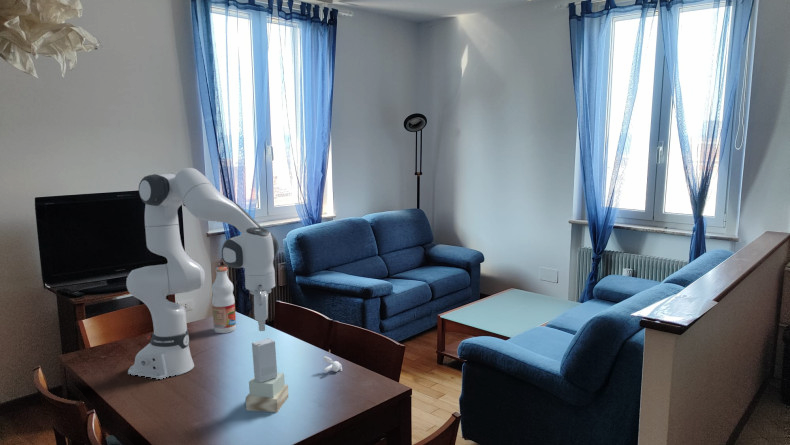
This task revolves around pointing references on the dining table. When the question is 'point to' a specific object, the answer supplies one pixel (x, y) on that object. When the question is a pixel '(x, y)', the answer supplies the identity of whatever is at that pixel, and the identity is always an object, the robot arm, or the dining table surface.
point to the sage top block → (267, 386)
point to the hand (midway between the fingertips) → (262, 325)
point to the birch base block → (267, 401)
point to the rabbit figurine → (334, 365)
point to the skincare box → (264, 360)
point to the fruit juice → (223, 303)
